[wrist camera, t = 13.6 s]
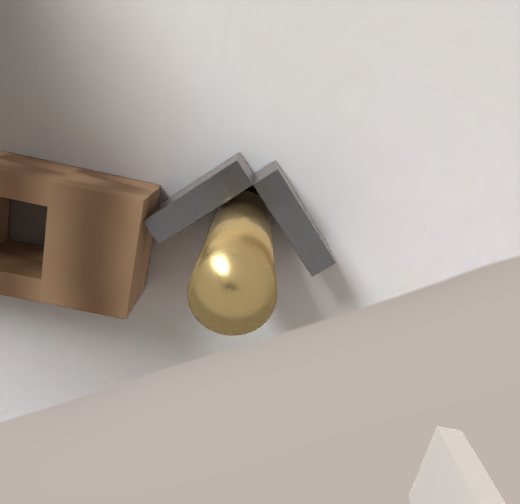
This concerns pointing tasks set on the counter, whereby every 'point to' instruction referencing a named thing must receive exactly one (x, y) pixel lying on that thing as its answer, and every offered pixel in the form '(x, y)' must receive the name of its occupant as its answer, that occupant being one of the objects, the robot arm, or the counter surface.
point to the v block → (231, 184)
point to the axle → (235, 269)
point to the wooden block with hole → (77, 236)
